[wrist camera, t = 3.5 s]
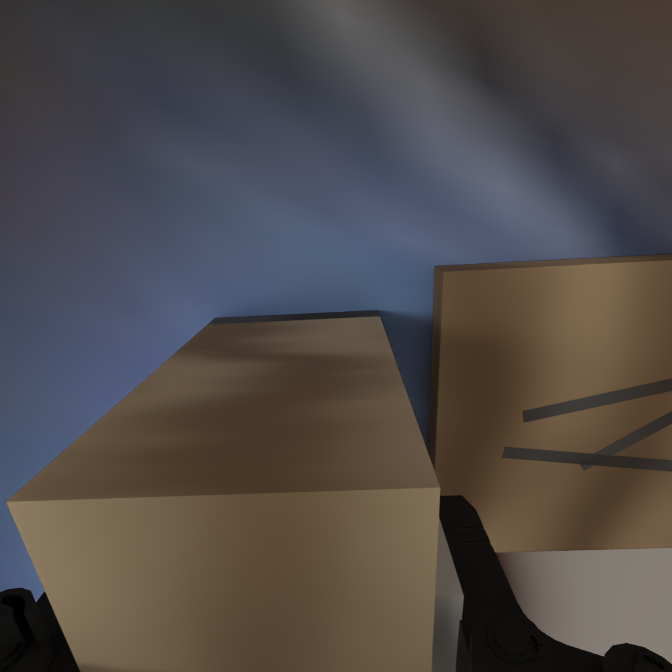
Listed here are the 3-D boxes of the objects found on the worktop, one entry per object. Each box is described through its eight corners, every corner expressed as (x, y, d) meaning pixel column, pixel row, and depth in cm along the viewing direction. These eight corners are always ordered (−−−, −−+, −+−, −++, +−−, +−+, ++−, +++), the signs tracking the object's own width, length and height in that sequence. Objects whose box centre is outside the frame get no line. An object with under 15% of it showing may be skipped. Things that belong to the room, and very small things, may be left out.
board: (425, 531, 17) (431, 554, 16) (434, 265, 13) (443, 271, 12) (742, 521, 16) (773, 545, 15) (852, 244, 12) (904, 248, 11)
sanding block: (247, 509, 17) (148, 827, 8) (214, 317, 14) (5, 501, 5) (380, 505, 16) (423, 826, 8) (377, 310, 13) (440, 487, 5)
